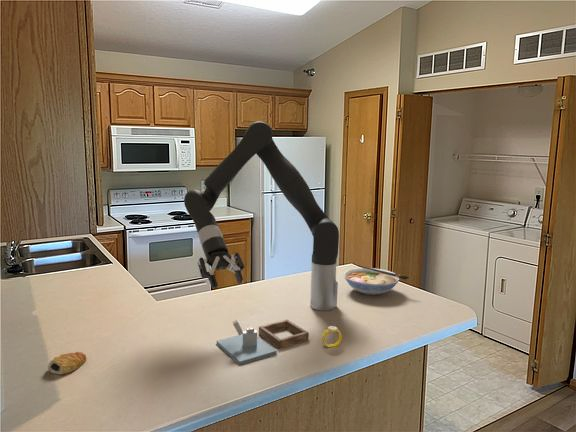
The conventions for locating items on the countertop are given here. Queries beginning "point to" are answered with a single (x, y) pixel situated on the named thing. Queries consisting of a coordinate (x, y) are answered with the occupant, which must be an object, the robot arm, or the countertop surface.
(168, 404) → the countertop surface
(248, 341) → the lighter
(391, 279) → the ramen bowl
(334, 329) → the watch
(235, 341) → the slate board
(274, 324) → the frame
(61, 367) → the pastry
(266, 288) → the countertop surface
